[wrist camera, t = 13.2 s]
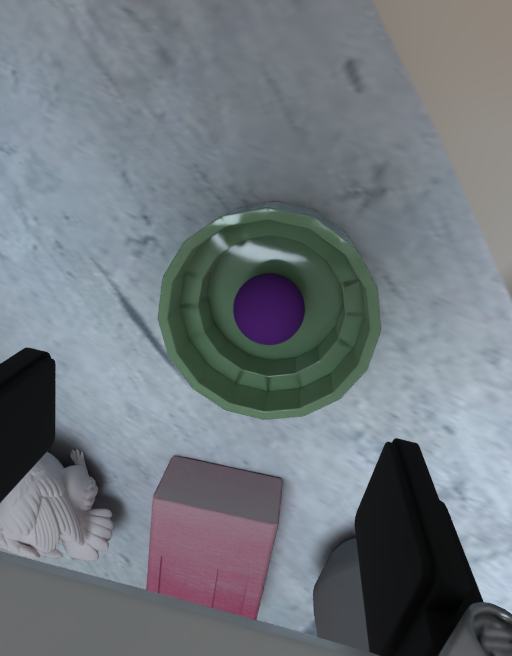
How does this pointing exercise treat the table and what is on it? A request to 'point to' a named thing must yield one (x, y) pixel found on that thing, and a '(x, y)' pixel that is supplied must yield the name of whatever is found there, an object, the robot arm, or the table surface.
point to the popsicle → (213, 535)
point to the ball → (269, 309)
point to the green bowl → (284, 358)
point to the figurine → (55, 512)
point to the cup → (341, 599)
